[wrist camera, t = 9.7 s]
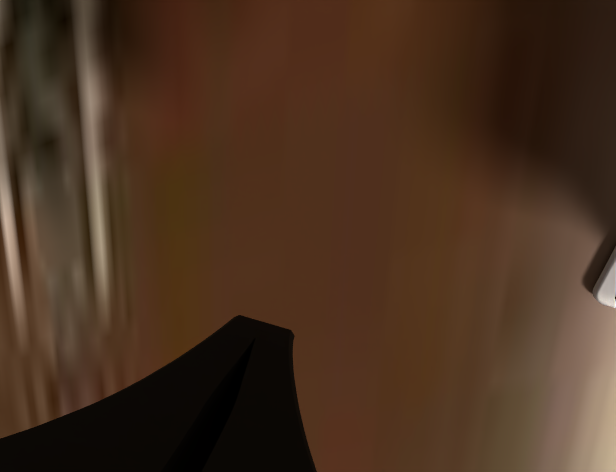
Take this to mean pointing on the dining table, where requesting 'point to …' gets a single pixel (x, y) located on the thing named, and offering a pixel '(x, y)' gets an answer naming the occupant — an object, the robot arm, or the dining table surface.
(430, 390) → the dining table surface
